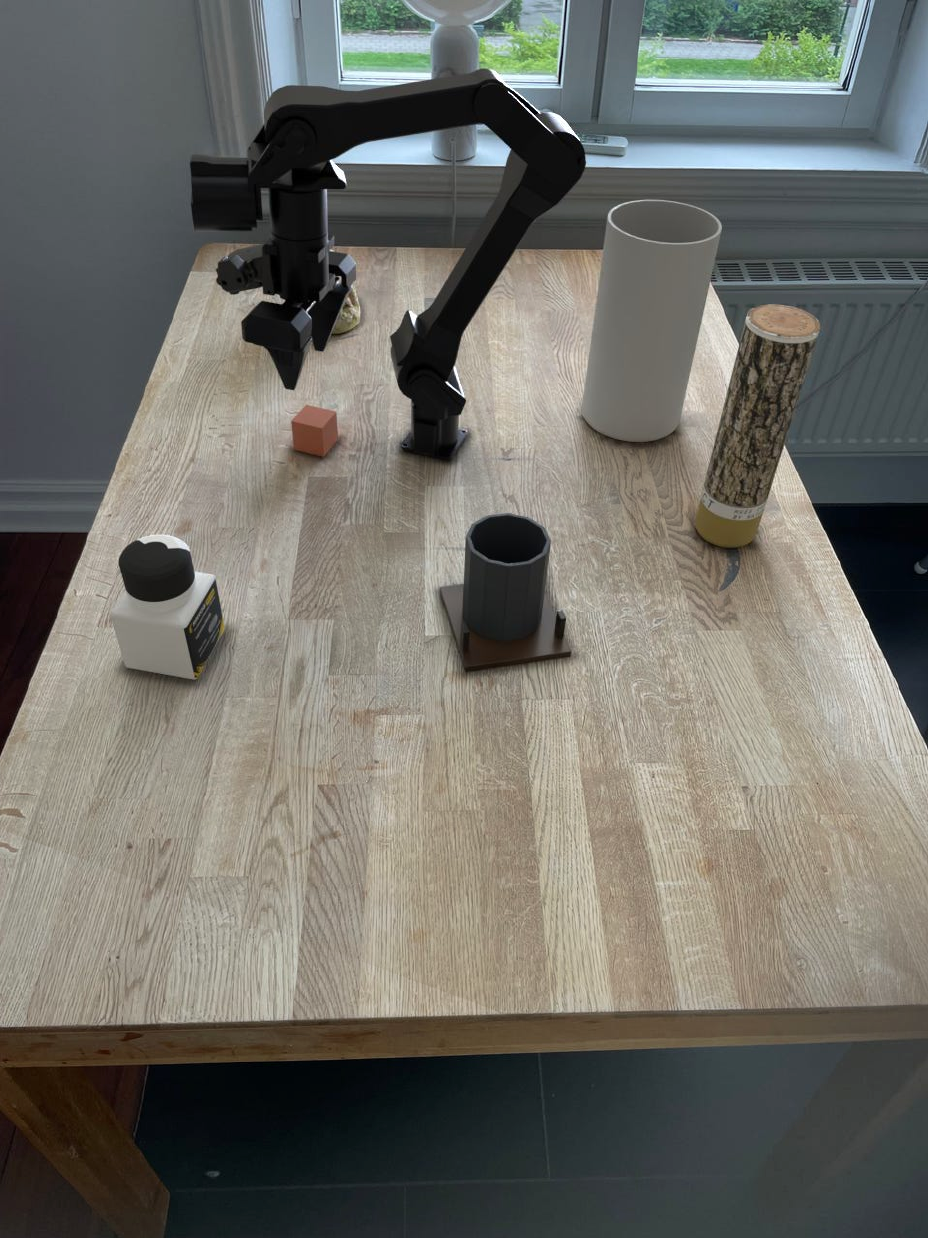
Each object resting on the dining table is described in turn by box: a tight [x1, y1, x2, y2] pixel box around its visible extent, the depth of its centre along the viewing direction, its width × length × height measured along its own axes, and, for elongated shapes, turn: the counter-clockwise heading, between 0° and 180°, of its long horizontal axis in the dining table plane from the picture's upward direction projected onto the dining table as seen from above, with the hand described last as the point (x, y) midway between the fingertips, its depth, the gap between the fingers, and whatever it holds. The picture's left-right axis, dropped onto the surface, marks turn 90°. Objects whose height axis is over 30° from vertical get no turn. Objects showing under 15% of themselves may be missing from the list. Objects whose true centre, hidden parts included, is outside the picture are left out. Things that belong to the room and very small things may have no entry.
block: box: [290, 404, 339, 458], centre depth 116 cm, size 4×4×4 cm
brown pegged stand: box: [438, 583, 572, 673], centre depth 95 cm, size 11×10×3 cm
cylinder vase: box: [581, 199, 723, 443], centre depth 116 cm, size 12×12×25 cm
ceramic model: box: [307, 248, 361, 335], centre depth 138 cm, size 14×11×10 cm
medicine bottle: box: [109, 534, 226, 680], centre depth 88 cm, size 7×7×12 cm
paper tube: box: [694, 303, 821, 549], centre depth 99 cm, size 7×7×25 cm
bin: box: [462, 512, 552, 642], centre depth 92 cm, size 8×8×10 cm
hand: (305, 369), depth 109 cm, fingers open, 9 cm apart
